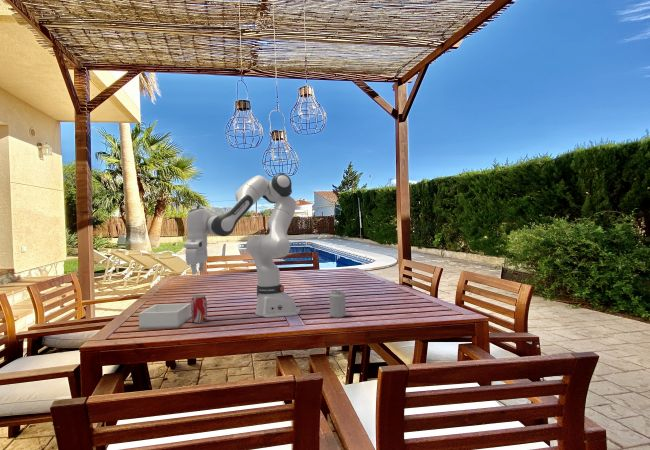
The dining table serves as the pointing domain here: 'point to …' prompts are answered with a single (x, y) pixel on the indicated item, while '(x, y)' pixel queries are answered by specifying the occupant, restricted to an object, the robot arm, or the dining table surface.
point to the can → (337, 304)
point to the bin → (164, 316)
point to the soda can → (199, 309)
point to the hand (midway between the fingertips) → (197, 272)
